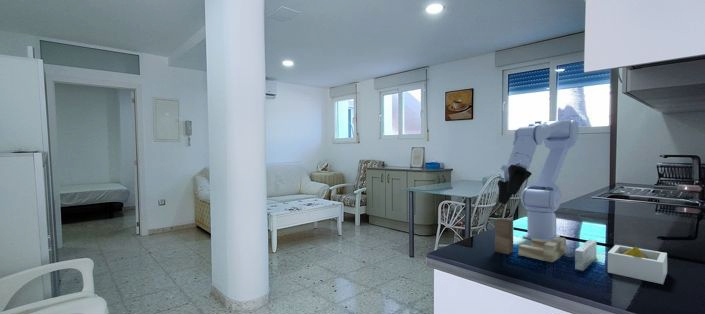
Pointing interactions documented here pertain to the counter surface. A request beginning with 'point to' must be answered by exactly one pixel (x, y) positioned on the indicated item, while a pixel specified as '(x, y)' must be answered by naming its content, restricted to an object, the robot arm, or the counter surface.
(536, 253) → the cradle
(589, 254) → the rail
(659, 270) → the holder
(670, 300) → the counter surface
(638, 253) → the yellow tapered piece
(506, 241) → the peg
